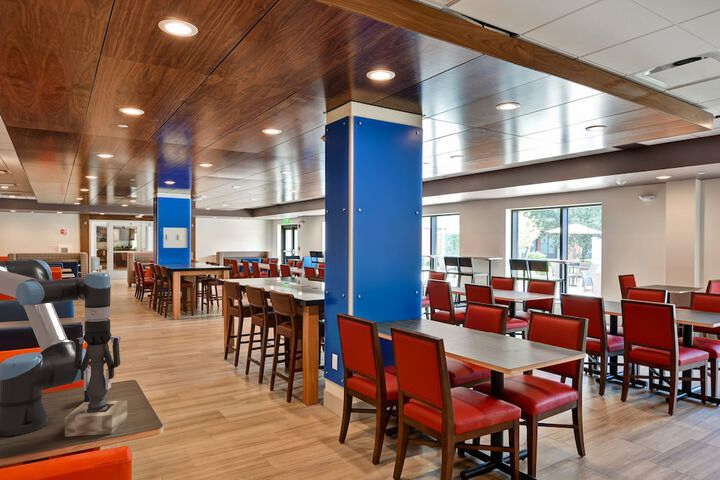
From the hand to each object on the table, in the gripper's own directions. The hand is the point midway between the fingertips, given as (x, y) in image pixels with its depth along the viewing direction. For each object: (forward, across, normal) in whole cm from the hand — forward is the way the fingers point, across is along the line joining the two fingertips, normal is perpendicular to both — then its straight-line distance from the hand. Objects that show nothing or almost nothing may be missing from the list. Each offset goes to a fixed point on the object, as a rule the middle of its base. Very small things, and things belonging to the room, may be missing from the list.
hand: (97, 388), depth 155 cm
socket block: (+12, 0, 0) cm, 12 cm away
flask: (+13, -12, +27) cm, 32 cm away
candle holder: (+10, 0, 0) cm, 10 cm away
